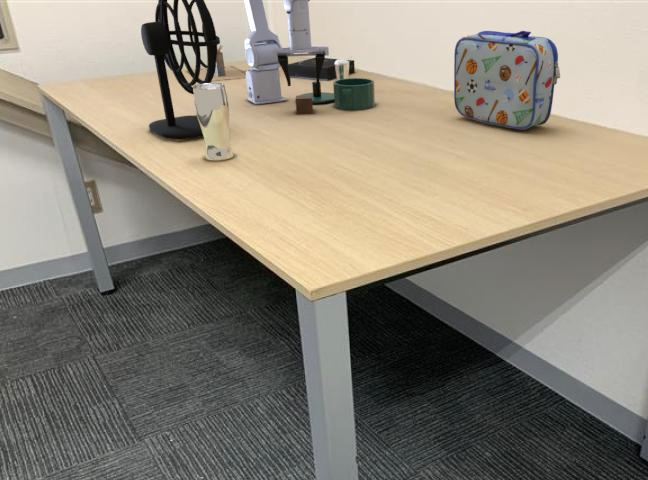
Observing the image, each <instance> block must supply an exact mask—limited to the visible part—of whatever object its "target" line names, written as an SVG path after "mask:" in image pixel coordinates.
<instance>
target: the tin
mask: <svg viewBox="0 0 648 480" xmlns="http://www.w3.org/2000/svg"><path fill="white" fill-rule="evenodd" d="M332 84H333V85H332V86H333V93H334V100H333V101H334V102H333V103H334V108H336V109H338V110H343V111H361V110H362V111H363V110H367V109H371V108H373V107H375V105H376V100H375V99H376V98H375V96H376V95H375V81H374V80H373V79H371V78H364V77H351V78H350V77H349V78H348V79H340V80H337V79H336V80H334V81H333V83H332Z"/></svg>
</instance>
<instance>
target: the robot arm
mask: <svg viewBox="0 0 648 480" xmlns="http://www.w3.org/2000/svg"><path fill="white" fill-rule="evenodd" d="M310 1H311V0H282V3H283V9H284V12H285V11H286V21H287V23H286V24H287V33H288V43H289V44H288V45H289V47H283V46H282V45H281V41H280V39H279V36H278V35H277V34H276V33H274V32H273V31H271V30H270V28H269V24H268V19H267V14H266V11H265V7H264V2H263V0H243V4H244V8H245V9H244V10H245V12H246V17H247V21H248V25H249V26H248V27H249V29H250V33H249V35H248V36H247V37H246V39H245V40H244V42H243V44H244V56H245V61H246V63H247V65H248V66H249V68H250V70H246V72H245V74H246V78H245V83H246V91H247V101H249V102H251V103H253V104H254V105H263V104H271V103H279V102H286V101H287V98H285V97H283V96H282V90H281V89H282V87H281V80H280V77H281V76H280V68H281V70H282V71H283V74H284V76H285V79H286V83H287V87H291V85H292V83H291V77H290V75H289V65H288V64H289V57H312V56H315V57H314V58H315V60H316V80H315V81H316V83H317V85H319V82H320V80H319V79H320V73H321V69H322V65H323V62H324V60H325V58H326V57H327V56H328V57H329V56H330V53H329V52H330V51H329V46H312V36H311V21H310V6H309V2H310Z"/></svg>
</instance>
